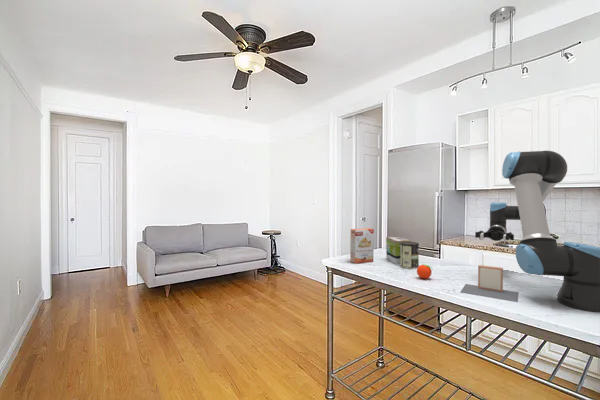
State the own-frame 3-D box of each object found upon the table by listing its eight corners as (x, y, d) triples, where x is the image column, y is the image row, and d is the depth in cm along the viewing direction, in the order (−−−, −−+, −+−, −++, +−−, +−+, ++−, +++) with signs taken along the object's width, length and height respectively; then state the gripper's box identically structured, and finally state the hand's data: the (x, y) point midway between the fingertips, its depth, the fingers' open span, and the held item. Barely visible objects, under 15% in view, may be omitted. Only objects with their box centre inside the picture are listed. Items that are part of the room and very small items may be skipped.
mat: (518, 293, 128) (518, 292, 128) (517, 303, 116) (517, 302, 116) (465, 284, 140) (465, 283, 140) (459, 293, 128) (459, 292, 128)
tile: (502, 290, 130) (502, 267, 130) (502, 292, 128) (502, 268, 128) (478, 287, 135) (478, 264, 135) (478, 288, 133) (478, 265, 133)
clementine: (435, 278, 151) (435, 264, 151) (431, 281, 146) (431, 267, 146) (419, 275, 156) (419, 262, 156) (414, 278, 151) (414, 264, 151)
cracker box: (355, 264, 184) (355, 229, 183) (349, 262, 189) (349, 228, 189) (374, 261, 189) (374, 228, 189) (368, 260, 195) (368, 227, 194)
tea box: (385, 259, 196) (385, 236, 196) (400, 258, 197) (400, 236, 197) (395, 264, 181) (395, 240, 181) (411, 264, 182) (411, 239, 182)
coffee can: (417, 265, 179) (417, 241, 179) (420, 269, 169) (420, 244, 169) (399, 264, 181) (399, 241, 181) (401, 268, 171) (401, 244, 171)
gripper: (521, 241, 150) (520, 248, 132) (473, 238, 163) (466, 243, 145) (521, 226, 150) (520, 231, 132) (473, 224, 163) (466, 228, 145)
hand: (492, 238), depth 139 cm, fingers open, 8 cm apart
